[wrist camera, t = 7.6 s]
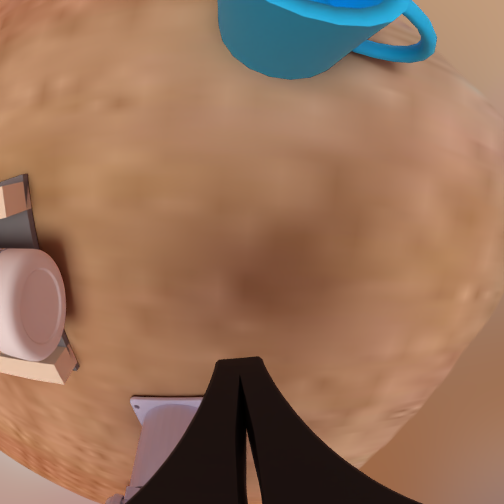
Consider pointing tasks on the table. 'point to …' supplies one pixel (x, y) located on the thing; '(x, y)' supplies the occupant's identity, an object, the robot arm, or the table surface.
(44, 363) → the cradle
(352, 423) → the table surface
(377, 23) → the mug
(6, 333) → the bath foam
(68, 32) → the table surface
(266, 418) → the robot arm
